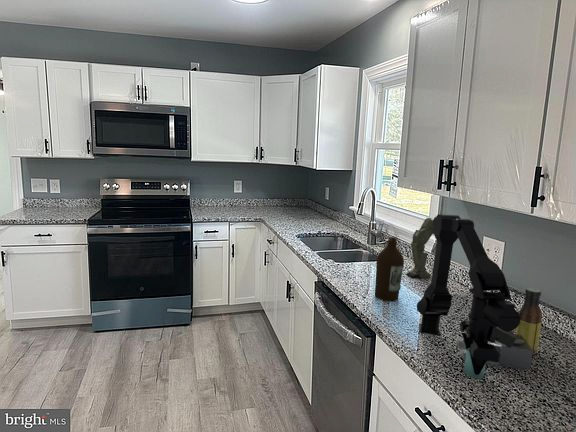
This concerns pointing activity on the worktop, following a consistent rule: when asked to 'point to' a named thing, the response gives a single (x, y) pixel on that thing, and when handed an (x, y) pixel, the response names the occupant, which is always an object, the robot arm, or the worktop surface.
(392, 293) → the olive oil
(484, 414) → the worktop surface
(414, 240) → the mechanical leg
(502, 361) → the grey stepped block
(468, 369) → the teal bottle with cap
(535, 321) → the sauce bottle
